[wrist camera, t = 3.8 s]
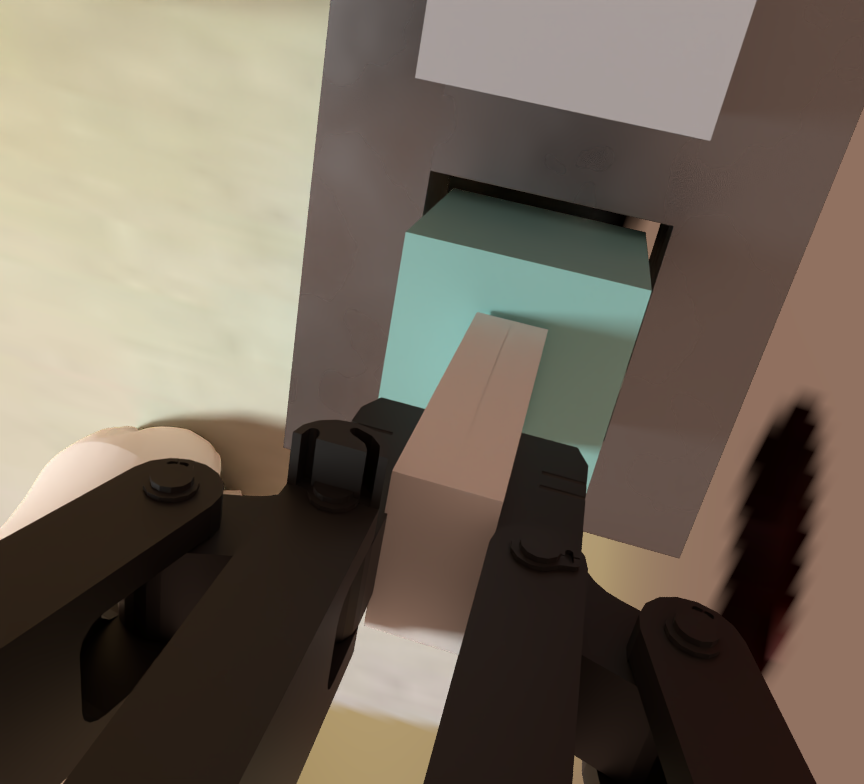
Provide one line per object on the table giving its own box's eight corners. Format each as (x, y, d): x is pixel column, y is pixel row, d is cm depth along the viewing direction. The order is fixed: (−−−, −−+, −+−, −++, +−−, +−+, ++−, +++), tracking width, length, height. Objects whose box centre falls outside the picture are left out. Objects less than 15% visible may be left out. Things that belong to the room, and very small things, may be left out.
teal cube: (453, 187, 20) (405, 232, 16) (645, 232, 19) (651, 290, 15) (421, 360, 22) (370, 441, 18) (592, 404, 22) (583, 500, 17)
